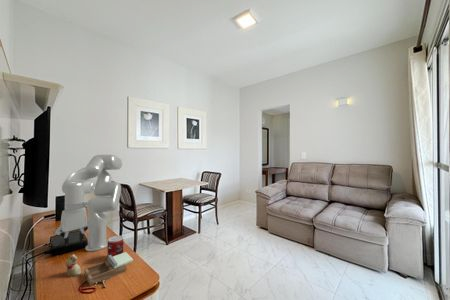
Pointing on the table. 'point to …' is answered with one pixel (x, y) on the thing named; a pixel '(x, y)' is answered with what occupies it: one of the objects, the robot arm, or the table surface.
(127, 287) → the table surface
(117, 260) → the lid
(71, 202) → the robot arm
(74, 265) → the chocolate bunny
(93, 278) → the compartment box
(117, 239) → the canned food
